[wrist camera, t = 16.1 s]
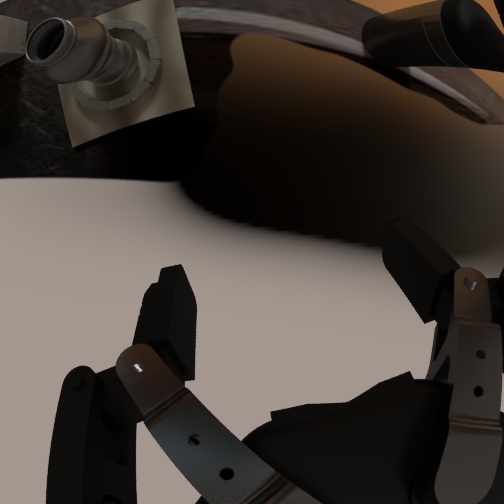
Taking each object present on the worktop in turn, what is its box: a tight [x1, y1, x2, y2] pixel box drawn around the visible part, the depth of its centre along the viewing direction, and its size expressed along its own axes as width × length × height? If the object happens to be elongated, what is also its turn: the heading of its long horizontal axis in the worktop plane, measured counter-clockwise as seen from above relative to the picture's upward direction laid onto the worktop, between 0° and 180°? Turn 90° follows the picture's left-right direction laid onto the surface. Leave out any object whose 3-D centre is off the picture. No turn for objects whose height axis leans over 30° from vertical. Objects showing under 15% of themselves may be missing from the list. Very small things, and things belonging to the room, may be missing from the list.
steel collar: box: [69, 19, 163, 111], centre depth 27 cm, size 12×12×2 cm
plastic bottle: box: [25, 17, 138, 88], centre depth 19 cm, size 6×7×20 cm
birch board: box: [58, 0, 195, 147], centre depth 28 cm, size 18×18×1 cm
